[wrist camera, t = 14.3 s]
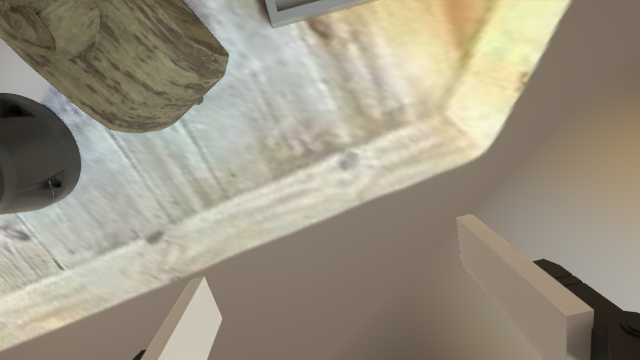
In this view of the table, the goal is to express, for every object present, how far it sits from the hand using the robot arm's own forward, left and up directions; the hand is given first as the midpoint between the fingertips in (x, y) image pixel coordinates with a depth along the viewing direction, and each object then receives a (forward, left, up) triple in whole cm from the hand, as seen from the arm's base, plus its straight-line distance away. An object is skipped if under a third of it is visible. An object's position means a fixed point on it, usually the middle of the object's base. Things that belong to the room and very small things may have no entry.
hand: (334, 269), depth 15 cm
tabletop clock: (-13, +17, -27) cm, 34 cm away
